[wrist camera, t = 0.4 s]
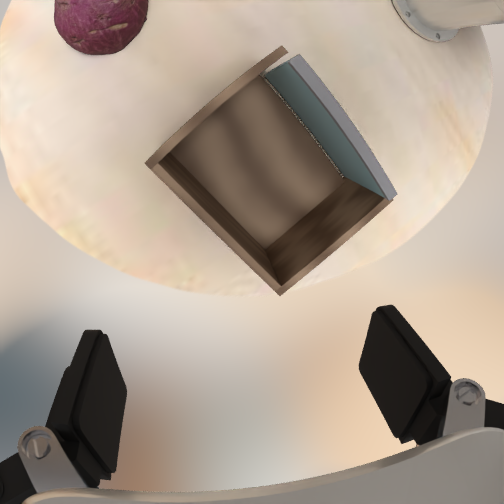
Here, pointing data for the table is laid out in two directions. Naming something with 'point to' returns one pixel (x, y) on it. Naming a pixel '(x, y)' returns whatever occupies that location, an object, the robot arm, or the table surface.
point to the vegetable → (99, 23)
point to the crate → (263, 181)
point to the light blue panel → (330, 125)
